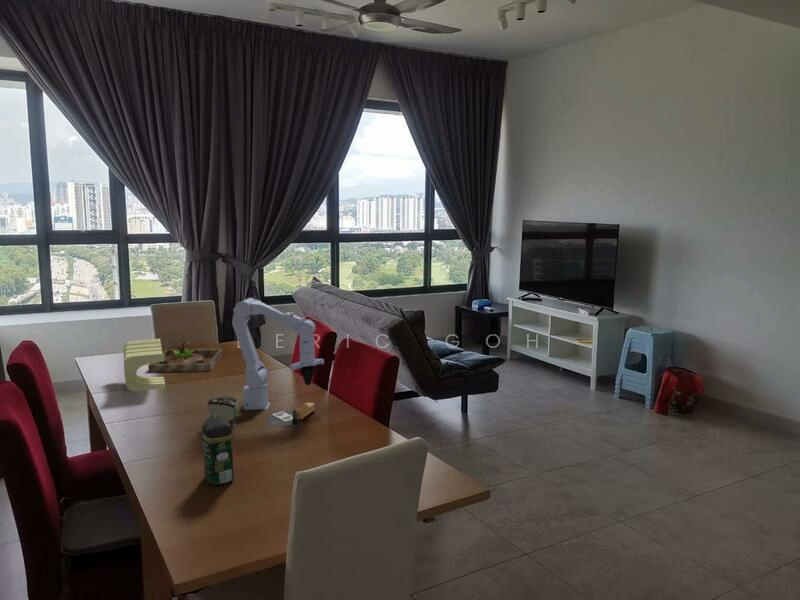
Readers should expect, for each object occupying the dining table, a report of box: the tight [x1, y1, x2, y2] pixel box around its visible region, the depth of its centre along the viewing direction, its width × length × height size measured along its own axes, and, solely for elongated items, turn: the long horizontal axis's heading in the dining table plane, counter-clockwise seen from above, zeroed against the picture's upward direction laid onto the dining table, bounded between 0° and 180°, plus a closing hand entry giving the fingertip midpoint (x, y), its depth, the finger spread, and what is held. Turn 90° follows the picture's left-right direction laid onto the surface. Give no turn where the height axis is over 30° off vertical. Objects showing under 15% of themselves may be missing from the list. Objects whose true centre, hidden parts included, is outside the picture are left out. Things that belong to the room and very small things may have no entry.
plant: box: [160, 340, 205, 364], centre depth 313 cm, size 20×20×11 cm
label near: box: [279, 415, 293, 422], centre depth 233 cm, size 5×5×1 cm
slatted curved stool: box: [123, 338, 166, 393], centre depth 273 cm, size 30×16×18 cm, turn 24°
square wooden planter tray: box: [147, 348, 223, 373], centre depth 311 cm, size 29×29×4 cm
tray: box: [266, 409, 302, 427], centre depth 234 cm, size 12×15×5 cm
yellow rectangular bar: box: [295, 401, 317, 420], centre depth 237 cm, size 12×4×2 cm, turn 162°
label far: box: [272, 411, 289, 419], centre depth 237 cm, size 5×5×1 cm
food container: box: [206, 396, 240, 430], centre depth 228 cm, size 12×6×10 cm, turn 71°
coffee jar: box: [201, 417, 235, 486], centre depth 184 cm, size 10×8×19 cm
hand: (307, 384), depth 244 cm, fingers closed
